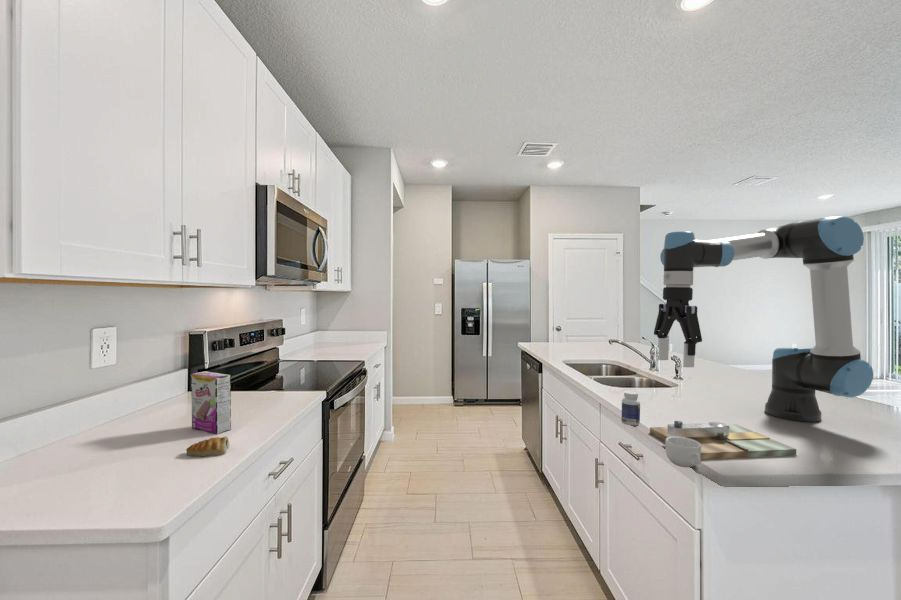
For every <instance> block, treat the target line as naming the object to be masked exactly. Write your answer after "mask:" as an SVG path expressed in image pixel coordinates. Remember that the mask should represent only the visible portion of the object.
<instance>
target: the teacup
mask: <svg viewBox="0 0 901 600" xmlns="http://www.w3.org/2000/svg"><path fill="white" fill-rule="evenodd" d="M664 443H665V444H664V445H665V454H666V458H667V459H668V460H669V461H670V462H671V463H672V464H673V465H675V466H678V467H681V468H693V467H695V466H697V465H700V464H701V462H702V459H701V458H700V455H701V444H700V443H699V442H697V441H695V440H692V439H689V438H685V437H676V436H673V437H667V438H666V441H664Z"/></svg>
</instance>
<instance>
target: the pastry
mask: <svg viewBox="0 0 901 600" xmlns="http://www.w3.org/2000/svg"><path fill="white" fill-rule="evenodd" d="M228 449H230V441H229V437H228V436H222V437H220V436H219V437H218V436H217V437H210V438H209V439H208V438H207V439H204V440H201V441H198V442H196V443H193V444H191V445H190V446H189V447H187V448H186V449H185V450H186V454H187V455H188V456H190V457H200V458H204V457H215V456H222V455H225V454H227V452H228Z"/></svg>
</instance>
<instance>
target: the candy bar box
mask: <svg viewBox="0 0 901 600" xmlns="http://www.w3.org/2000/svg"><path fill="white" fill-rule="evenodd" d="M190 381H191V382H190V385H191V391H190V392H191V393H190V394H191V429H193V430H197V431H201V432H206V433H211V434H215V435H220V434H223V433H226V432H228V431H231V430H232V408H231V406H232V405H231V404H232V403H231V402H232V399H231V396H232V395H231V393H232V391H231V384H232V383H231V374H227V373H226V374H225V373H219V372H213V371H212V372H211V371H207V370H206V371H199V372H195V373H191V374H190Z"/></svg>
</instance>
